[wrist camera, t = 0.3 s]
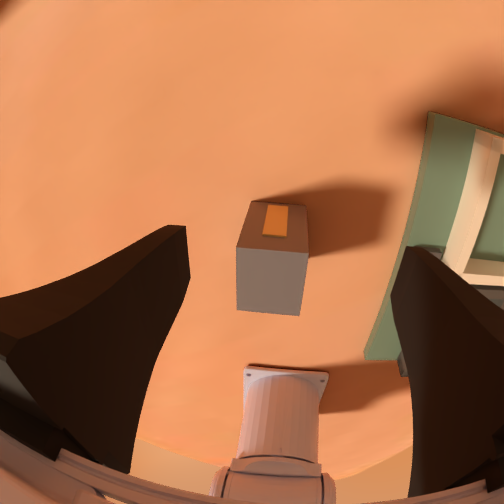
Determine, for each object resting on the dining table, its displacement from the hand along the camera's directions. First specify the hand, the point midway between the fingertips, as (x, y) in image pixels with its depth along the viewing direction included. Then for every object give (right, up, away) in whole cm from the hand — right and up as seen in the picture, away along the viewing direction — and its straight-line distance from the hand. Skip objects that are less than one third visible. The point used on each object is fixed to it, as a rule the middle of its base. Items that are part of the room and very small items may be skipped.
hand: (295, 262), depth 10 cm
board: (+15, -1, +9) cm, 18 cm away
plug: (0, +2, +10) cm, 10 cm away
